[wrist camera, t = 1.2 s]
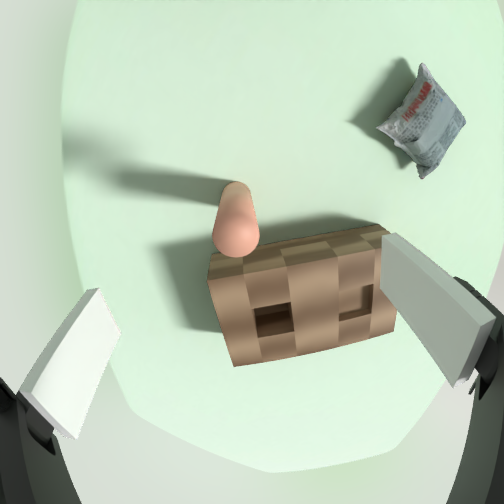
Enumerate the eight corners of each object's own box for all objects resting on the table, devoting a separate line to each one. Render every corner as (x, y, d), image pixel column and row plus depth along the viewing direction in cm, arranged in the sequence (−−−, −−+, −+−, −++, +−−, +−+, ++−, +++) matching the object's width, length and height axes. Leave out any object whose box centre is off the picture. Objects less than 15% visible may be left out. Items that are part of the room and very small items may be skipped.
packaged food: (366, 127, 26) (388, 128, 22) (413, 64, 23) (438, 58, 18) (412, 177, 29) (436, 186, 24) (453, 114, 25) (478, 116, 21)
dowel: (219, 184, 28) (207, 218, 17) (248, 179, 28) (255, 209, 17) (225, 211, 29) (218, 261, 18) (252, 206, 29) (263, 252, 18)
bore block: (211, 254, 31) (206, 280, 26) (378, 224, 31) (403, 243, 25) (233, 334, 36) (233, 366, 30) (375, 305, 35) (393, 331, 30)
